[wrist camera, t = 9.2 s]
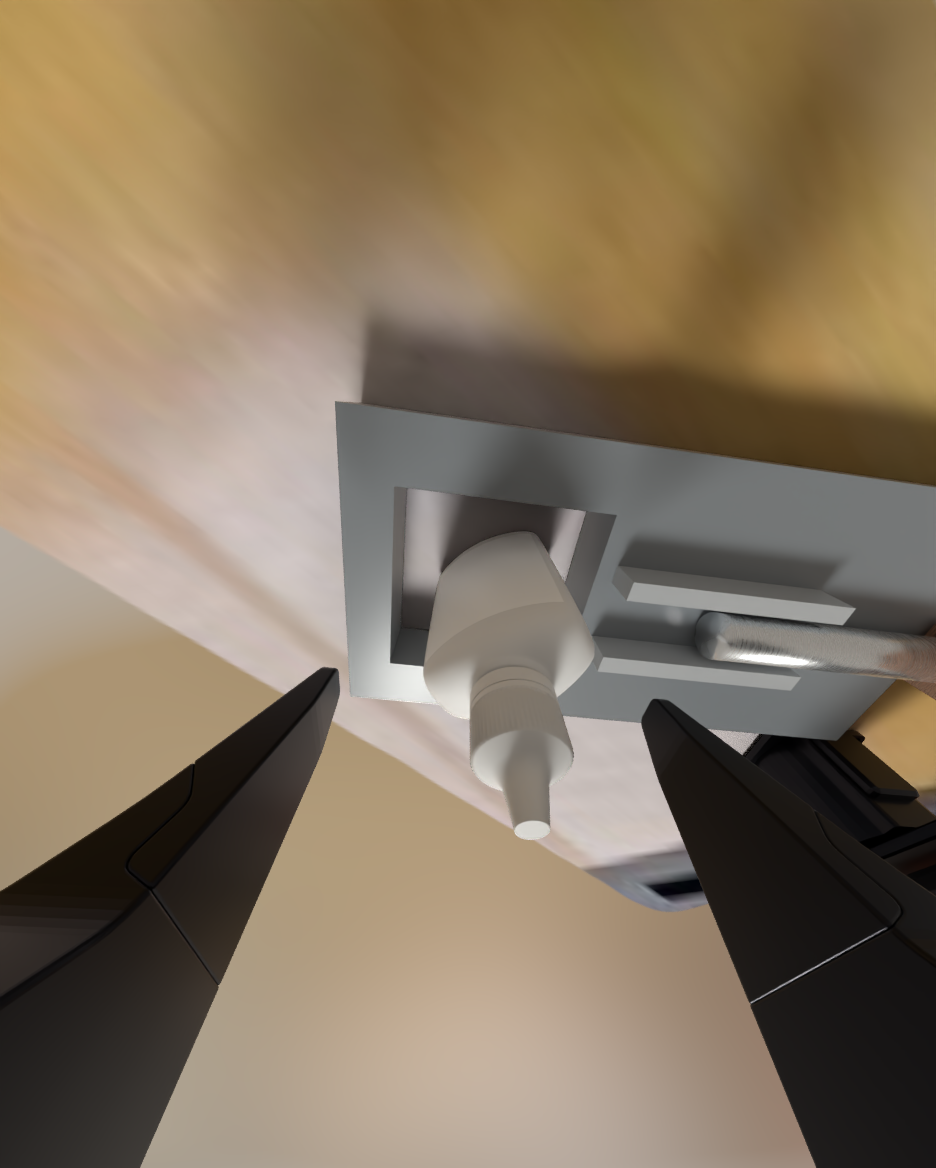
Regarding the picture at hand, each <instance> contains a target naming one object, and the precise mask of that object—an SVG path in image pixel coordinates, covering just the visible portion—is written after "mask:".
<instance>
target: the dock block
mask: <svg viewBox="0 0 936 1168" xmlns="http://www.w3.org/2000/svg"><path fill="white" fill-rule="evenodd" d="M335 411H336V431H337V450H338V470H339V489H340V508H341V528H342V547H343V566H344V586H345V605H346V625H347V644H348V663H349V683H350V696H351V697H362V698H373V699H384V700H395V701H406V702H417V703H428V704H439V703H438V702H437V701H436V700H435V699H434V697H433V696H432V695H431V693H430V692H429V690H428V689H427V687H426V684H425V681H424V677H423V668H424V661H425V654H426V647H427V641H428V635H429V630H421V629H412V628H402V627H401V614H402V590H403V565H404V541H405V517H406V493H407V488H412V489H419V490H427V491H435V492H443V493H450V494H458V495H466V496H473V497H481V498H489V499H497V500H504V501H512V502H520V503H527V504H535V505H543V506H551V507H558V508H566V509H574V510H581V511H587V512H586V516H585V519H584V522H583V526H582V529H581V532H580V536H579V539H578V542H577V546H576V549H575V552H574V556H573V559H572V562H571V566H570V569H569V572H568V576H567V579H566V582H565V585H566V587H567V588H568V590H569V592H570V594H571V596H572V598H573V600H574V601H575V603H576V605H577V607H578V609H579V611H580V613H581V615H582V617H583V619H584V621H585V623H586V625H587V627H588V630H589V632H590V634H591V637H592V640H593V642H594V648H595V652H594V658H593V660H592V662H591V663H590V665H589V667H588V668H587V669H586V670H585V672H584V673H583V674H582V675H581V676H580V677H579V678H578V679H577V680H576V681H575V682H574V683H573V684H572V685H571V686H570V687H569V688H568V689H567V690H566V691H564V692H563V693H562V694H561V695H559V696H558V697H557V699H558V703H559V706H560V709H561V712H562V715H563V716H571V717H582V718H593V719H604V720H615V721H626V722H637V723H641V719H642V716H643V714H644V712H645V710H646V708H647V707H648V705H649V703H650V701H651V700H652V699H655V698H656V699H666V700H669V701H670V702H672V703H673V704H674V705H676V706H677V707H678V708H680V709H681V710H682V711H684V712H685V713H686V714H688V715H689V716H690V717H692V718H693V719H694V720H696V721H697V722H698V723H700V724H701V725H702V726H704V727H705V728H707V729H713V730H724V731H735V732H746V733H757V734H768V735H779V736H790V737H801V738H812V739H823V740H834V741H837V740H838V739H839V738H840V737H841V736H842V735H843V734H844V733H845V732H846V731H847V730H848V729H849V728H850V726H851V725H852V724H853V723H854V722H855V721H856V720H857V719H858V718H859V717H860V716H861V715H862V714H863V713H864V712H865V711H866V710H867V709H868V708H869V707H870V706H871V705H872V704H873V703H874V702H875V701H876V700H877V699H878V698H879V697H880V696H881V695H882V694H883V693H884V692H885V691H886V690H887V689H888V688H889V687H890V686H891V685H892V683H893V682H894V681H895V680H896V679H892V678H883V677H873V676H864V675H854V674H844V673H835V672H825V671H816V670H806V669H796V668H787V667H777V666H768V665H758V664H749V663H739V662H729V661H720V660H711V659H708V658H706V657H704V656H703V655H702V654H701V653H700V652H699V650H698V648H697V646H696V643H695V628H696V625H697V623H698V621H699V619H700V618H701V617H702V616H703V615H705V614H707V613H710V612H718V613H726V614H735V615H744V616H753V617H762V618H770V619H779V620H788V621H797V622H806V623H815V624H823V625H832V626H841V627H850V628H859V629H867V630H876V631H885V632H894V633H903V634H911V635H920V636H924V635H925V634H926V633H927V632H928V631H929V630H930V629H931V628H932V627H933V626H934V625H935V624H936V486H935V485H928V484H921V483H914V482H907V481H900V480H893V479H886V478H879V477H873V476H866V475H859V474H852V473H845V472H838V471H831V470H824V469H817V468H810V467H803V466H796V465H789V464H782V463H775V462H768V461H761V460H754V459H747V458H740V457H733V456H726V455H719V454H713V453H706V452H699V451H692V450H685V449H678V448H671V447H664V446H657V445H650V444H643V443H636V442H629V441H622V440H615V439H608V438H601V437H594V436H587V435H580V434H573V433H566V432H559V431H553V430H546V429H539V428H532V427H525V426H518V425H511V424H504V423H497V422H490V421H483V420H476V419H469V418H462V417H455V416H448V415H441V414H434V413H427V412H420V411H413V410H406V409H399V408H393V407H386V406H379V405H372V404H365V403H353V402H337V401H335Z"/></svg>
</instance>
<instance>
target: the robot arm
mask: <svg viewBox="0 0 936 1168" xmlns="http://www.w3.org/2000/svg"><path fill="white" fill-rule="evenodd" d="M339 695H340V684H339V672H338V669H336V668H328V667H322V668H320V669H319V670H317V671H316V672H315V673H313V674H312V675H311V676H309V677H308V678H307V679H305V680H304V681H303V682H301V683H300V684H299V685H297V686H296V687H295V688H293V689H292V690H290V691H289V692H288V693H286V694H285V695H284V696H282V697H281V698H280V699H278V700H277V701H276V702H274V703H273V704H272V705H270V706H269V707H267V708H266V709H265V710H264V711H262V712H261V713H259V714H258V715H257V716H255V717H254V718H253V719H251V720H250V721H249V722H247V723H246V724H245V725H243V726H242V727H241V728H239V729H238V730H236V731H235V732H234V733H232V734H231V735H230V736H228V737H227V738H226V739H224V740H223V741H222V742H220V743H219V744H217V745H216V746H215V747H213V748H212V749H211V750H209V751H208V752H207V753H205V754H204V755H203V756H201V757H200V758H199V759H197V760H196V761H195V764H190V765H189V766H187V767H186V768H185V769H183V770H182V771H181V772H179V773H178V774H177V775H175V776H174V777H173V778H171V779H170V780H168V781H167V782H166V783H164V784H163V785H161V786H160V787H159V788H157V789H156V790H154V791H153V792H152V793H150V794H149V795H148V796H146V797H145V798H143V799H142V800H140V801H139V802H137V803H136V804H134V805H133V806H131V807H130V808H128V809H127V810H126V811H124V812H122V813H121V814H119V815H118V816H116V817H115V818H113V819H112V820H110V821H109V822H107V823H106V824H104V825H102V826H101V827H99V828H98V829H96V830H95V831H93V832H92V833H90V834H89V835H87V836H85V837H84V838H82V839H81V840H79V841H78V842H76V843H75V844H74V845H72V846H70V847H69V848H67V849H66V850H64V851H62V852H61V853H59V854H58V855H56V856H55V857H53V858H52V859H50V860H48V861H47V862H45V863H44V864H42V865H41V866H39V867H38V868H36V869H35V870H33V871H32V872H30V873H28V874H27V875H25V876H24V877H22V878H21V879H19V880H18V881H16V882H14V883H13V884H11V885H10V886H8V887H6V888H5V889H3V890H1V891H0V1168H140V1166H141V1164H142V1162H143V1159H144V1157H145V1154H146V1153H147V1150H148V1148H149V1146H150V1144H151V1141H152V1139H153V1136H154V1134H155V1132H156V1130H157V1128H158V1125H159V1123H160V1121H161V1118H162V1116H163V1114H164V1112H165V1109H166V1107H167V1105H168V1102H169V1100H170V1098H171V1095H172V1093H173V1091H174V1089H175V1086H176V1084H177V1082H178V1080H179V1077H180V1075H181V1073H182V1071H183V1068H184V1066H185V1064H186V1061H187V1059H188V1057H189V1054H190V1052H191V1050H192V1048H193V1045H194V1043H195V1040H196V1038H197V1036H198V1034H199V1032H200V1029H201V1027H202V1025H203V1023H204V1020H205V1018H206V1016H207V1013H208V1011H209V1009H210V1007H211V1004H212V1002H213V1000H214V998H215V995H216V993H217V991H218V985H219V984H220V983H221V981H222V979H223V976H224V974H225V972H226V970H227V967H228V965H229V963H230V961H231V958H232V956H233V954H234V951H235V949H236V947H237V944H238V942H239V940H240V938H241V935H242V933H243V931H244V929H245V926H246V924H247V922H248V919H249V917H250V915H251V913H252V910H253V908H254V906H255V904H256V901H257V899H258V897H259V894H260V892H261V890H262V888H263V885H264V883H265V881H266V878H267V876H268V874H269V872H270V869H271V867H272V865H273V863H274V860H275V858H276V855H277V853H278V851H279V849H280V847H281V844H282V842H283V840H284V838H285V835H286V833H287V831H288V828H289V826H290V824H291V821H292V819H293V817H294V814H295V812H296V810H297V808H298V806H299V803H300V801H301V799H302V797H303V794H304V792H305V790H306V787H307V785H308V783H309V781H310V778H311V776H312V774H313V771H314V769H315V767H316V764H317V762H318V760H319V757H320V755H321V753H322V750H323V747H324V744H325V740H326V737H327V734H328V731H329V727H330V724H331V721H332V718H333V715H334V712H335V709H336V706H337V702H338V699H339ZM641 725H642V729H643V732H644V735H645V739H646V742H647V745H648V748H649V752H650V755H651V758H652V762H653V765H654V768H655V771H656V774H657V777H658V780H659V783H660V785H661V788H662V791H663V793H664V795H665V798H666V800H667V803H668V805H669V808H670V810H671V813H672V815H673V817H674V820H675V822H676V825H677V827H678V830H679V832H680V835H681V837H682V839H683V842H684V844H685V847H686V849H687V852H688V854H689V857H690V859H691V861H692V864H693V866H694V869H695V871H696V874H697V876H698V879H699V881H700V884H701V886H702V888H703V891H704V893H705V896H706V898H707V901H708V903H709V906H710V908H711V910H712V913H713V915H714V918H715V920H716V922H717V925H718V928H719V930H720V932H721V935H722V937H723V940H724V942H725V945H726V947H727V949H728V952H729V954H730V957H731V959H732V962H733V964H734V967H735V969H736V972H737V974H738V977H739V979H740V981H741V984H742V986H743V989H744V991H745V994H746V996H747V999H748V1001H749V1003H750V1004H751V1009H752V1011H753V1014H754V1016H755V1019H756V1021H757V1024H758V1026H759V1029H760V1031H761V1033H762V1036H763V1038H764V1041H765V1043H766V1046H767V1048H768V1051H769V1053H770V1055H771V1058H772V1060H773V1062H774V1065H775V1068H776V1070H777V1073H778V1075H779V1077H780V1080H781V1082H782V1085H783V1087H784V1090H785V1092H786V1095H787V1097H788V1100H789V1102H790V1104H791V1107H792V1109H793V1112H794V1114H795V1117H796V1119H797V1122H798V1124H799V1127H800V1129H801V1131H802V1134H803V1136H804V1139H805V1141H806V1144H807V1146H808V1149H809V1151H810V1154H811V1156H812V1158H813V1160H814V1163H815V1166H816V1168H936V816H935V815H934V814H932V813H931V812H930V811H929V810H928V809H927V808H926V807H924V806H923V805H922V804H921V803H920V802H919V801H917V800H916V798H918V797H919V794H918V792H917V790H916V789H915V788H914V787H912V786H911V785H910V784H909V783H908V782H907V781H905V780H904V779H903V778H902V777H901V776H899V775H898V774H897V773H896V772H895V771H894V770H892V769H891V768H890V767H889V766H888V765H886V764H885V763H884V762H883V761H882V760H881V759H879V758H878V757H877V756H876V755H875V754H873V753H872V752H871V751H870V750H869V749H868V748H866V747H865V746H864V745H863V744H862V742H863V741H864V740H865V737H864V736H863V735H861V734H860V733H859V732H858V731H853V730H847V731H846V732H845V733H844V734H843V735H842V736H841V737H840V738H839V739H838V740H837V741H834V740H823V739H812V738H801V737H790V736H779V735H768V734H763V736H762V737H761V738H760V739H759V741H758V742H757V743H756V744H755V746H754V747H753V748H752V749H751V750H750V752H749V753H748V754H747V755H746V757H744V756H743V755H741V754H740V753H739V752H737V751H736V750H735V749H733V748H732V747H731V746H729V745H728V744H727V743H725V742H724V741H723V740H721V739H720V738H719V737H717V736H716V735H715V734H713V733H712V732H711V731H709V730H708V729H707V728H705V727H704V726H702V725H701V724H700V723H698V722H697V721H696V720H694V719H693V718H692V717H690V716H689V715H688V714H686V713H685V712H684V711H682V710H681V709H680V708H678V707H677V706H676V705H674V704H673V703H672V702H670V701H669V700H666V699H656V698H655V699H652V700H651V701H650V703H649V705H648V707H647V708H646V710H645V712H644V714H643V716H642V719H641Z"/></svg>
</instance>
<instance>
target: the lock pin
mask: <svg viewBox="0 0 936 1168" xmlns="http://www.w3.org/2000/svg"><path fill="white" fill-rule="evenodd" d="M695 643H696V646H697V648H698V650H699V652H700V653H701V654H702V655H703V656H704V657H706V658H708V659H711V660H720V661H729V662H739V663H749V664H758V665H768V666H777V667H787V668H796V669H806V670H816V671H825V672H835V673H844V674H854V675H864V676H873V677H883V678H892V679H902V680H904V681H906V682H908V683H909V684H911V685H913V686H914V687H916V688H917V689H919V690H921V691H922V692H924V693H925V694H927V695H929V696H930V697H932V698H933V699H935V700H936V624H935V625H934V626H933V627H932V628H931V629H930V630H929V631H928V632H927V633H926V634H925V635H924V636H920V635H911V634H903V633H894V632H885V631H876V630H867V629H859V628H850V627H841V626H832V625H823V624H815V623H806V622H797V621H788V620H779V619H770V618H762V617H753V616H744V615H735V614H726V613H718V612H710V613H707V614H705V615H703V616H702V617H701V618H700V619H699V621H698V623H697V625H696V628H695Z"/></svg>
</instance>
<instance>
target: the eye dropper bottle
mask: <svg viewBox="0 0 936 1168" xmlns="http://www.w3.org/2000/svg"><path fill="white" fill-rule="evenodd" d="M594 652H595V648H594V642H593V640H592V637H591V634H590V632H589V630H588V627H587V625H586V623H585V621H584V619H583V617H582V615H581V613H580V611H579V609H578V607H577V605H576V603H575V601H574V600H573V598H572V596H571V594H570V592H569V590H568V588H567V587H566V585H565V583H564V581H563V579H562V578H561V576H560V574H559V572H558V570H557V568H556V567H555V565H554V563H553V561H552V560H551V558H550V556H549V554H548V552H547V551H546V549H545V547H544V545H543V544H542V542H541V540H540V538H539V537H538V536H537V535H536V534H535V533H532V532H528V531H519V532H512V533H506V534H502V535H498V536H495V537H492V538H489V539H486V540H484V541H482V542H480V543H478V544H476V545H474V546H472V547H470V548H469V549H467V550H466V551H464V552H463V553H462V554H460V555H459V556H458V557H457V558H456V559H455V560H454V561H452V562H451V564H450V565H449V566H448V567H447V568H446V569H445V570H444V571H443V573H442V574H441V576H440V577H439V580H438V584H437V589H436V595H435V600H434V606H433V612H432V617H431V623H430V629H429V635H428V641H427V647H426V654H425V661H424V668H423V677H424V681H425V684H426V687H427V689H428V690H429V692H430V693H431V695H432V696H433V697H434V699H435V700H436V701H437V702H438V703H439V705H440V706H441V707H442V708H443V709H444V710H445V711H446V712H448V713H449V714H451V715H453V716H455V717H459V718H463V719H470V765H471V768H472V771H473V772H474V774H475V775H476V776H477V777H478V778H479V779H480V780H481V781H482V782H483V783H485V784H486V785H488V786H490V787H492V788H494V789H497V790H500V791H503V793H504V796H505V800H506V803H507V807H508V810H509V814H510V818H511V821H512V825H513V828H514V832H515V834H516V835H517V836H518V837H520V838H522V839H527V840H535V839H540V838H543V837H545V836H546V835H547V834H548V833H549V832H550V803H549V786H551V785H553V784H555V783H557V782H558V781H559V780H561V779H562V778H563V777H564V776H565V775H566V773H567V772H568V771H569V769H570V767H571V765H572V762H573V758H574V755H573V754H574V752H573V748H572V744H571V741H570V738H569V735H568V732H567V728H566V725H565V722H564V719H563V715H562V712H561V709H560V706H559V703H558V699H557V697H558V696H559V695H561V694H562V693H563V692H564V691H566V690H567V689H568V688H569V687H570V686H571V685H572V684H573V683H574V682H575V681H576V680H577V679H578V678H579V677H580V676H581V675H582V674H583V673H584V672H585V670H586V669H587V668H588V667H589V665H590V663H591V662H592V660H593V658H594Z"/></svg>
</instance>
